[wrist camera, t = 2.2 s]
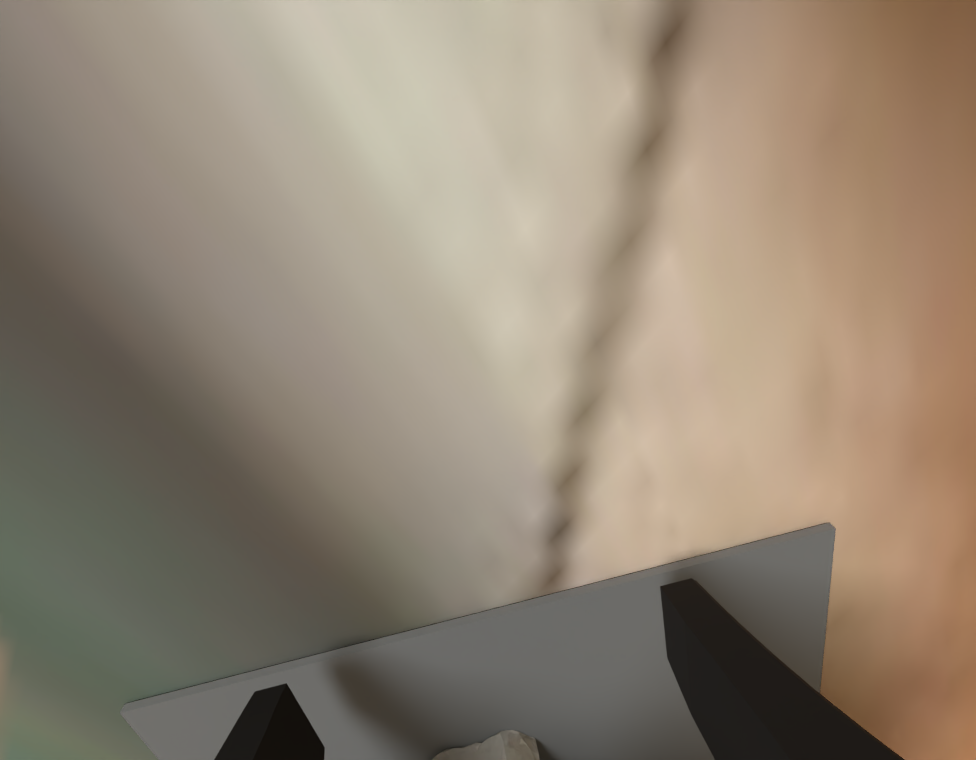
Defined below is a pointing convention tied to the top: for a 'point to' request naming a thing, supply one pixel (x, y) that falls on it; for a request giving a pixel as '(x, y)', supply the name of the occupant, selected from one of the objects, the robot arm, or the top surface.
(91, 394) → the top surface
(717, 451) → the top surface
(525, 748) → the egg carton
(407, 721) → the lane mat
